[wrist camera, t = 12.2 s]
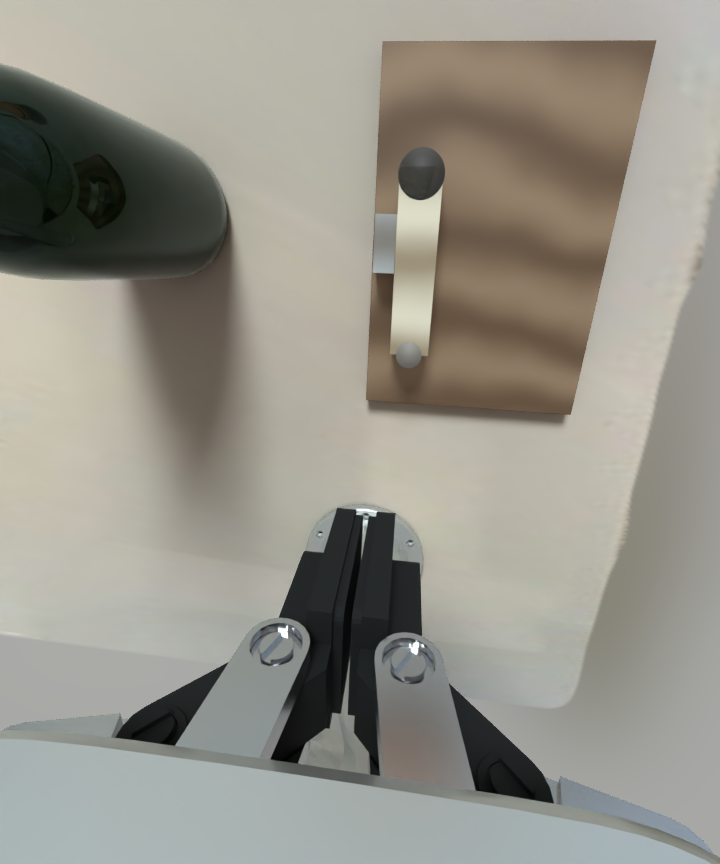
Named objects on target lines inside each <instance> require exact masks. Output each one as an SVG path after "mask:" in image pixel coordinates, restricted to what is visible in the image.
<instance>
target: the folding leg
mask: <svg viewBox="0 0 720 864" xmlns="http://www.w3.org/2000/svg"><path fill="white" fill-rule="evenodd" d="M444 178H445V166H444V162H443V160H442V158H441V156H440V155H439V154H438V153H437V152H436V151H435V150H433V149H431V148H428V147H419V148H415V149H413V150H411V151H410V152H409V153H408V154H407V155H406V156H405V157H404V158H403V160H402V162H401V164H400V167H399V171H398V180H399V195H398V213H397V232H396V250H395V268H394V286H393V305H392V323H391V341H390V354H396V359H397V362H398V363H399V365H401V366H402V367H404V368H413V367H415V366H417V365H418V364H419V362H420V360H421V356H428V348H429V336H430V325H431V313H432V302H433V290H434V279H435V267H436V256H437V244H438V233H439V221H440V210H441V198H442V187H443V182H444Z"/></svg>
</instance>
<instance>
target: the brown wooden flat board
mask: <svg viewBox="0 0 720 864" xmlns="http://www.w3.org/2000/svg"><path fill="white" fill-rule="evenodd" d="M655 44H656V41H383V46H382V68H381V90H380V111H379V133H378V154H377V176H376V198H375V219H374V241H373V262H372V284H371V306H370V327H369V349H368V370H367V392H366V400H371V401H385V402H400V403H414V404H428V405H442V406H456V407H470V408H484V409H498V410H513V411H527V412H541V413H555V414H569V415H571V411H572V406H573V402H574V398H575V393H576V389H577V384H578V380H579V376H580V371H581V367H582V363H583V358H584V354H585V350H586V345H587V341H588V336H589V332H590V328H591V323H592V319H593V315H594V310H595V306H596V302H597V297H598V293H599V288H600V284H601V280H602V275H603V271H604V267H605V262H606V258H607V254H608V249H609V245H610V240H611V236H612V232H613V227H614V223H615V219H616V214H617V210H618V206H619V201H620V197H621V192H622V188H623V184H624V179H625V175H626V171H627V166H628V162H629V158H630V153H631V149H632V144H633V140H634V136H635V131H636V127H637V123H638V118H639V114H640V109H641V105H642V101H643V96H644V92H645V88H646V83H647V79H648V75H649V70H650V66H651V61H652V57H653V53H654V48H655ZM419 147H428V148H431V149H433V150H435V151H436V152H437V153H438V154H439V155H440V156H441V158H442V160H443V162H444V166H445V178H444V182H443V187H442V198H441V210H440V221H439V233H438V244H437V256H436V267H435V279H434V290H433V302H432V313H431V325H430V336H429V348H428V356H421V360H420V362H419V364H418V365H417V366H415V367H413V368H404V367H402V366H401V365H399V363H398V362H397V359H396V354H390V341H391V323H392V305H393V286H394V268H395V250H396V232H397V213H398V195H399V180H398V171H399V167H400V164H401V162H402V160H403V158H404V157H405V156H406V155H407V154H408V153H409V152H410V151H411V150H413V149H415V148H419Z"/></svg>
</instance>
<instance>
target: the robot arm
mask: <svg viewBox="0 0 720 864" xmlns="http://www.w3.org/2000/svg"><path fill="white" fill-rule="evenodd" d="M366 513H368V514H366ZM422 568H423V553H422V547H421V544H420V541H419V538H418V537H417V535H416V533H415V532H414V530H413V529H412V528H411V527H410V526H409V525H408V523H407V522H406V521H404V520H403V519H402V518H400V517H399V516H397V515H396V513H392V512H390V511H388V510H385V509H382V508H379V507H375V506H368V505H352V506H347V507H343V508H337V510H335V511H332V512H331V513H329V514H328V515H326V516H325V517H323V518H322V519H321V520H320V521H319V522H318V523H317V524H316V526H315V527H314V529H313V531H312V532H311V535H310V537H309V540H308V544H307V548H306V551H305V552H304V553H303V555H302V557H301V560H300V563H299V565H298V568H297V571H296V573H295V576H294V579H293V581H292V584H291V587H290V589H289V592H288V595H287V597H286V600H285V603H284V605H283V608H282V611H281V613H280V616H279V618H274V619H269V620H266V621H263V622H261V623H259V624H258V625H256V626H255V627H253V628H252V629H251V630H250V631H249V633H248V634H247V635H246V636H245V638H244V639H243V641H242V642H241V644H240V646H239V647H238V649H237V650H236V652H235V653H234V655H233V656H232V658H231V660H230V661H229V662H228V663H226V664H224V665H222V666H221V667H219V668H217V669H215V670H213V671H211V672H209V673H208V674H206V675H204V676H202V677H200V678H198V679H196V680H194V681H193V682H191V683H189V684H187V685H185V686H183V687H181V688H180V689H178V690H176V691H174V692H172V693H170V694H168V695H166V696H165V697H163V698H161V699H159V700H157V701H155V702H153V703H151V704H150V705H148V706H146V707H144V708H143V709H141V710H140V711H138V712H137V713H135V714H134V715H133V716H132V717H131V718H130V719H121V714H111V715H100V716H89V717H79V718H69V719H58V720H47V721H36V722H26V723H21V724H17V725H13V726H10V727H8V728H6V729H4V730H2V731H0V864H720V857H718V856H716V855H714V854H713V853H712V851H711V850H710V849H709V848H708V847H707V845H706V844H705V843H704V841H703V840H702V839H701V838H699V837H698V836H697V835H696V834H695V833H694V832H692V831H691V830H690V829H689V828H688V827H686V826H684V825H683V824H681V823H679V822H677V821H675V820H673V819H671V818H669V817H667V816H664V815H661V814H659V813H656V812H653V811H651V810H648V809H645V808H643V807H640V806H637V805H635V804H632V803H629V802H627V801H624V800H621V799H619V798H616V797H613V796H610V795H608V794H606V793H603V792H600V791H598V790H595V789H592V788H590V787H587V786H584V785H581V784H579V783H576V782H574V781H571V780H568V779H566V778H563V777H560V779H559V782H556V781H554V780H551V779H548V778H546V777H544V776H543V774H542V772H541V771H540V770H539V769H538V768H537V767H536V766H535V764H534V763H533V762H532V761H531V760H530V759H529V758H528V757H527V756H526V755H525V754H524V753H522V752H521V751H520V750H519V749H518V748H517V747H516V746H515V745H514V744H513V743H512V742H511V741H510V740H509V739H508V738H506V737H505V736H504V735H503V734H502V733H501V732H500V731H499V730H498V729H497V728H496V727H495V726H494V725H493V724H492V723H491V722H490V721H488V720H487V719H486V718H485V717H484V716H483V715H482V714H481V713H480V712H479V711H478V710H477V709H476V708H475V707H474V706H472V705H471V704H470V703H469V702H468V701H467V700H466V699H465V698H464V697H463V696H462V695H461V694H460V693H459V692H458V691H457V690H455V689H454V688H453V687H452V686H451V685H450V684H449V682H448V678H447V674H446V670H445V666H444V662H443V659H442V657H441V654H440V652H439V650H438V649H437V648H436V647H435V645H434V644H433V643H432V642H430V641H429V640H427V639H426V638H425V637H422V622H421V583H420V576H421V572H422Z"/></svg>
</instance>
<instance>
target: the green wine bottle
mask: <svg viewBox="0 0 720 864" xmlns="http://www.w3.org/2000/svg"><path fill="white" fill-rule="evenodd" d="M226 227H227V208H226V204H225V199H224V195H223V192H222V189H221V187H220V184H219V182H218V180H217V178H216V177H215V175H214V173H213V172H212V170H211V168H210V167H209V166H208V165H207V164H206V163H205V161H204V160H203V159H202V158H201V157H200V156H198V155H197V154H196V153H195V152H194V151H192V150H191V149H190V148H188V147H186V146H185V145H183V144H181V143H180V142H178V141H176V140H174V139H172V138H170V137H168V136H166V135H164V134H162V133H160V132H158V131H156V130H154V129H152V128H150V127H148V126H146V125H144V124H142V123H140V122H138V121H136V120H134V119H132V118H129V117H127V116H125V115H123V114H121V113H119V112H117V111H115V110H113V109H111V108H108V107H106V106H104V105H102V104H100V103H98V102H96V101H94V100H91V99H89V98H87V97H85V96H83V95H81V94H79V93H77V92H74V91H72V90H70V89H68V88H66V87H64V86H61V85H59V84H56V83H54V82H51V81H49V80H46V79H44V78H41V77H39V76H37V75H34V74H32V73H29V72H27V71H24V70H22V69H19V68H16V67H12V66H9V65H5V64H2V63H0V273H4V274H8V275H13V276H18V277H23V278H32V279H47V280H72V281H95V280H141V279H167V278H177V277H183V276H189V275H192V274H195V273H197V272H199V271H201V270H202V269H204V268H205V267H207V266H208V265H209V264H210V263H211V262H212V261H213V259H214V258H215V257H216V256H217V254H218V252H219V250H220V249H221V247H222V244H223V241H224V238H225V234H226Z"/></svg>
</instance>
